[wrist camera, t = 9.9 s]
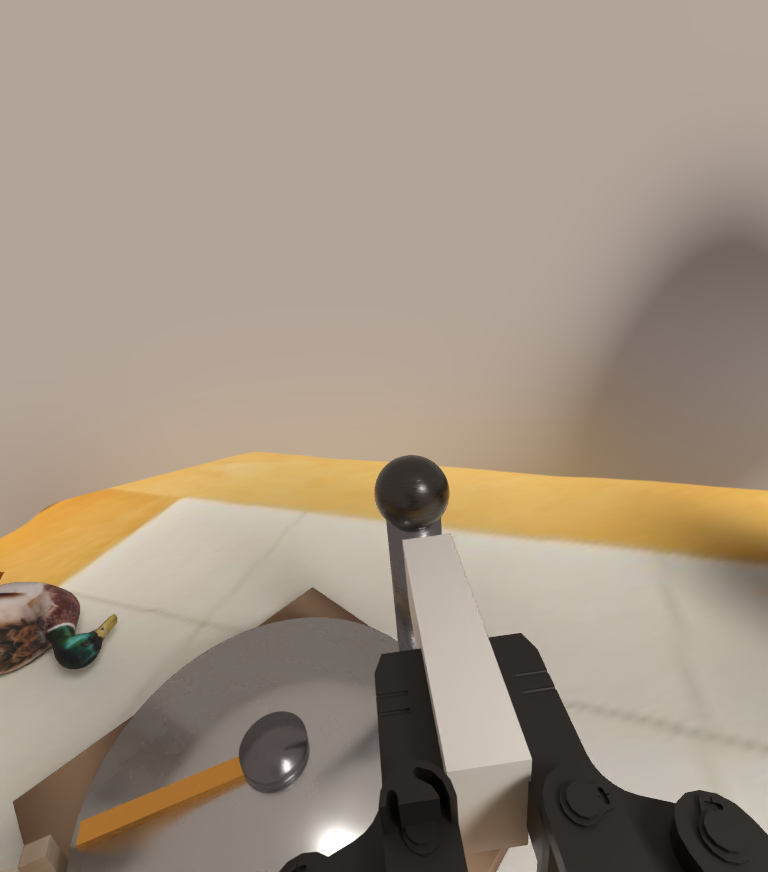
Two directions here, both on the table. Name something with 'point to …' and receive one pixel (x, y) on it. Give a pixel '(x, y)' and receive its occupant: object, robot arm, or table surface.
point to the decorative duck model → (44, 626)
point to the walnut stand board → (67, 787)
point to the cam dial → (260, 734)
